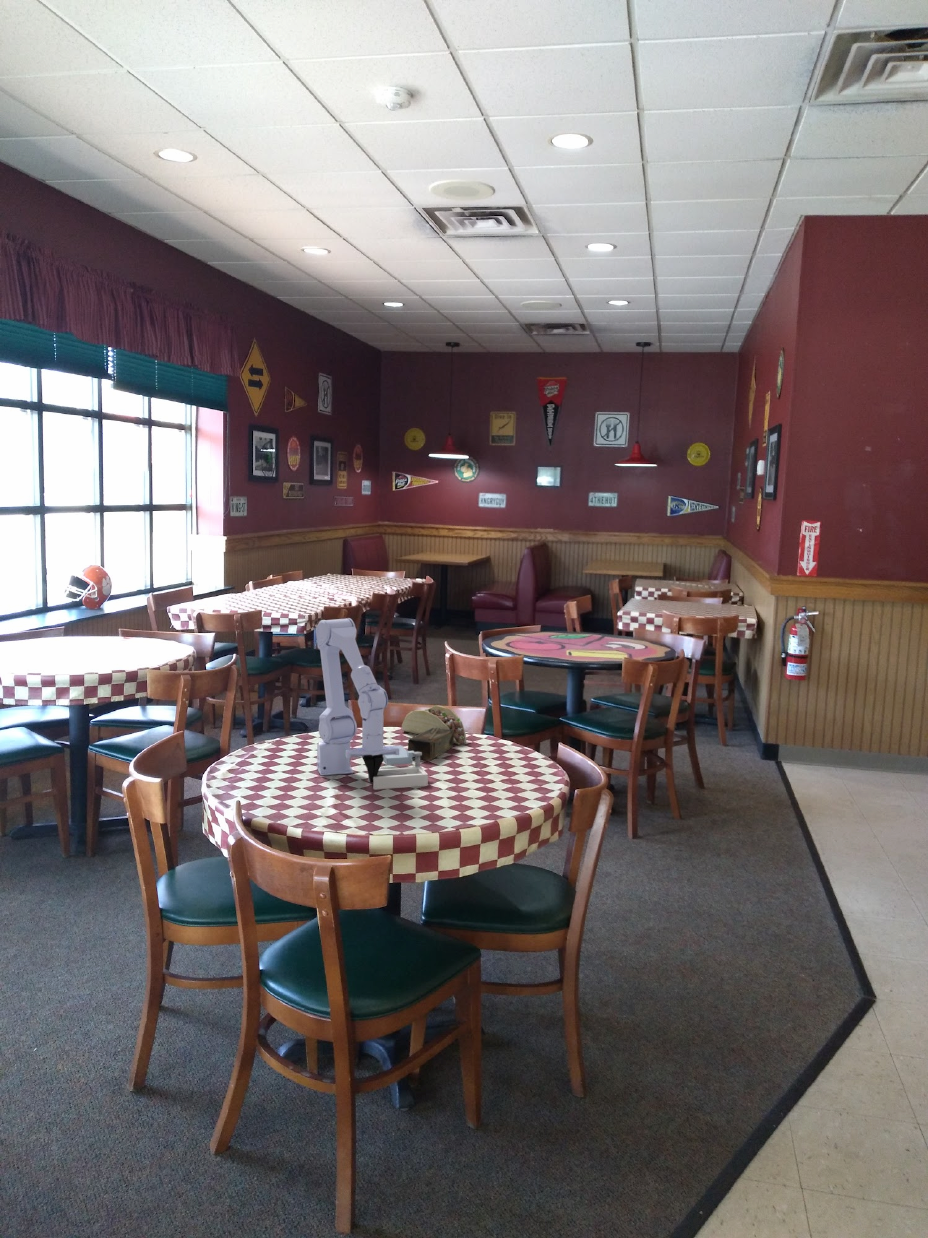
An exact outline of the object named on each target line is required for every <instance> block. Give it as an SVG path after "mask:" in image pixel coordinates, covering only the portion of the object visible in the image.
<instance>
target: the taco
mask: <svg viewBox="0 0 928 1238" xmlns="http://www.w3.org/2000/svg"><path fill="white" fill-rule="evenodd" d="M435 727H440V728H441V729H448V730H453V731H454V741H453V742H454V743H453V744H455V745H463V744H464V743H466V742H467V738H466V737H467V736H466V735H467V733H466V731H465V728H464V724H463V721H462V720H461V718H460V717H459V716H458V715H457V713H456V712H455V711H454V710H452V709H451V708H448V707H445V706H442V705H434V706H431V707H429V708H426V709H416V710H412V711H410V712H409V713H407V714H406V716H405V717H404V718H403V721H402V723H401V729H402V731H403V732H407V733H410V734H414V735H419V734H421V733H423V732H425V731H427V730H430V729H432V728H435Z"/></svg>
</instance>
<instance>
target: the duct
mask: <svg viewBox="0 0 928 1238" xmlns="http://www.w3.org/2000/svg"><path fill="white" fill-rule="evenodd" d="M403 773H406V774H407V775H393V776H379V777H373V783H372V784H373V787H372V789H373V790H385V789H387V790H389V789H400V788H413V787H426V786H429V784H428V783H429V774H428V773H427V772H426V770H424V768H422V766H421V760H420V756H415V759H414V766H406V767H395V768H392V767H391V768H379V771H378V774H377V775H388V774H403ZM367 774H368V773H367ZM367 777H368V780H367V782H368V783H371V782H370V781H369V774H368V775H367Z"/></svg>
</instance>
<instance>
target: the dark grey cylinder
mask: <svg viewBox="0 0 928 1238" xmlns="http://www.w3.org/2000/svg"><path fill="white" fill-rule="evenodd" d="M393 775H407V774H406V773H403V774H388V775H377V777H379V776H393Z"/></svg>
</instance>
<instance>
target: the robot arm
mask: <svg viewBox="0 0 928 1238" xmlns="http://www.w3.org/2000/svg"><path fill="white" fill-rule="evenodd" d="M357 632H358V631H357V628H356V624H355V621H353V619H352V618H350V617H347V618H339V619H336V618H335V619H327V620H325V619H322V620H319V622H318V623H317V626H316V627H315V635H316V636H315V637H316V645H317V649H318V650H319V651H320V652H319V653H320V659H321V669H322V676H323V685H324V693H325V694H324V695H325V703H326V708H325V710H324V711H323V712H322V713H321V714H320V715H319V717H318V720H319V723H318V724H319V725H318V734H319V737H320V739H321V740H322V741H318V742H317V744H316V745H317V748H316V761H317V762H316V769H317V771H318V773H319V774H320V776H333V775H347V774H354V770H353V768H352V767H351V758H362V760H363V762H364V765H365V767H366V771H367V774H369V781H370V782H369V783H371V784H373V777H377V774H378V771H379V769H381V766H382V764H383V763H384V761H383V760H384V758H383V755H399V747H384V713H385V712H384V710H385V709H386V708H387V707H388V704H389V698H388V694H387V693H388V692H387V691H386V690H385V689H384V688H383V687H381V685H378V683H377V680H376V678H375V676H374V674H373V672H372V670H371V667H370V666H368V665H365V663H364V661H363V657H362V656H361V655H362V654H361V652H360V649H359V646H358V644H357V641H356V638H357ZM340 651H341V652H342V654H343V655H344V657H345V659H346V661H347V663H348V664H349V667H350V668H351V670H352V671H351V673H350V678H351V680H352V682H353V684H354V686H355V688H356V689H355V690H356V691H357V693H358V695H359V696H358V699H357V705H358V707H359V710H360V717H361V718H362V723H361V724H362V725H361V726H362V731H361V732H362V734H361V735H362V736H361V737H362V739H361V746H362V747H358V748H351V741H353V740H354V739H353V738H354V737H355V736H356V734H357V730H358V727H357V726H358V725H357V721H356V719H355V716H354V712H353V710H351V709H350V708H348V707H347V706H346V703H345V694H344V687H343V686H344V684H343V677H342V669H341V661H340Z"/></svg>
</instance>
